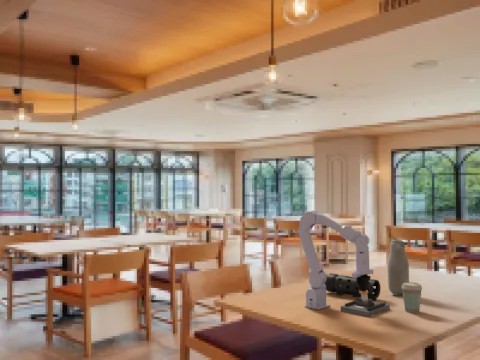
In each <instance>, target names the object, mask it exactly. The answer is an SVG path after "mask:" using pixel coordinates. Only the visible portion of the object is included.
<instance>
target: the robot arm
mask: <svg viewBox="0 0 480 360" xmlns="http://www.w3.org/2000/svg"><path fill="white" fill-rule="evenodd" d="M301 215H302V216H301V217H300V219H299V226H298V230H297V231H298V236H299V238H300V242H301V246H302V249H303V252H304V255H305V259H306V262H307V265H308V275H309V278H308V283H309V284H310V287H309V289H307V290H306V292H305V305H304V308H310V309H314V310H322V309H325V308H328V307H330V306H331V304H328V303H327V290H326V285H325V282H326V280H327V276H326V274H327V273H325V272H324V270H323V267H322V265H321V264H320V262H319V258H318V255H317V252H316V247H315V245H314V241H313V239H312V235H311V231H312V230H313V227H314V226H316V225H325V226H326V227H328V228H330V229H332V230H334V231H336V232H338V233H339V236H340V237H341V238H343V239H345V240H346V241H348V242H349V243H352V244H354V245H355V268H356V269H355V270H356V271H354V272H352V273H351V277H352V278H356V280H357V282H358V284H359V287H360V291H364V292H365V291H366V289H367V285H368V282H369V280H370V279H372V277H371V275H374V269H370V251H369V250H370V248H369V243H370V238H369V236H368V235H367V234H366V233H362V231H358V230H356V229H354V228H353V227H352V226H351V225H347V224H345V225H341V224H340V223H339V222H337V221H335V220H333V219H332V218H330V217H328V216H327V215H324V214H323V213H321V212H318V211H317V210H310V211H305V212H304V213H303V214H301Z"/></svg>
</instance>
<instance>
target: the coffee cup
mask: <svg viewBox="0 0 480 360" xmlns="http://www.w3.org/2000/svg"><path fill="white" fill-rule="evenodd" d="M422 290H423V286H422V284H421V283H418V282H410V281H409V282H406V283H403V285H402V291H403V295H402V297H403V306H404V312H406V313H410V314H419V313H420V309H421V297H422Z"/></svg>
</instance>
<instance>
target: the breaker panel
mask: <svg viewBox="0 0 480 360" xmlns="http://www.w3.org/2000/svg"><path fill="white" fill-rule="evenodd" d="M390 309H391V305H390V303H389V304H388V303H386V302H385V301H383V302H378V301H375V300H372V299H368V300H367V301H364V300H362V298H361V297H360V298H358V297H357V299H355V300H352V301H350V302H349V301H348V302H345V303H344V305H341V306H340V312H343V313H349V314H353V315H358V316H361V317H362V316H363V317H366V316H368V317H367V318H370V317H373V316H376V315H378V314H380V312H381V313H383V312H386V311H388V310H390ZM375 314H376V315H375ZM372 315H373V316H372Z"/></svg>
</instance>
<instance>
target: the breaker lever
mask: <svg viewBox="0 0 480 360" xmlns="http://www.w3.org/2000/svg"><path fill="white" fill-rule="evenodd" d="M359 293H360V294H361V298H362V300H364V301H367V300H368V295H367V293H368V290H366V291H365V292H364V291H359Z"/></svg>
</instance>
